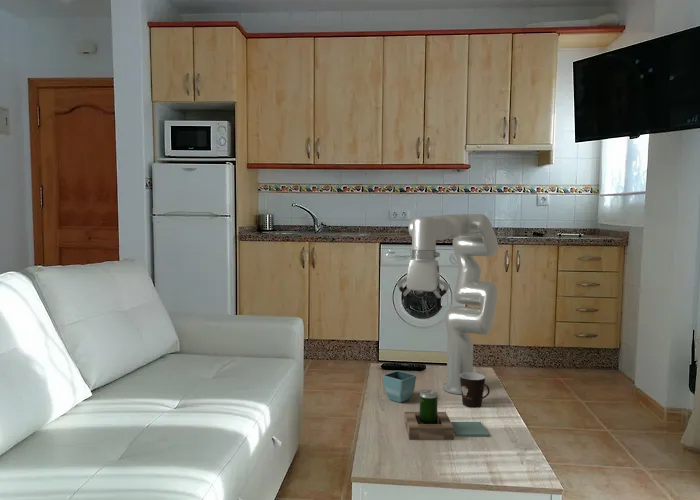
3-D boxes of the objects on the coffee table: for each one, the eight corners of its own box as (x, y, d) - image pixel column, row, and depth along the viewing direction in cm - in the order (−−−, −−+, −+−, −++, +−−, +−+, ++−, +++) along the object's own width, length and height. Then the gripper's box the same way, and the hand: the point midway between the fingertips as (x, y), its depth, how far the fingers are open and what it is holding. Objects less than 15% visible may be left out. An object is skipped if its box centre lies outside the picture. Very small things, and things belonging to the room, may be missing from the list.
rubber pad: (448, 423, 167) (449, 421, 167) (480, 423, 167) (480, 421, 167) (455, 436, 157) (455, 434, 157) (489, 436, 157) (489, 434, 157)
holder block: (404, 422, 168) (404, 411, 168) (445, 422, 168) (445, 411, 168) (409, 439, 155) (409, 427, 155) (453, 439, 155) (453, 428, 155)
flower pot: (416, 399, 189) (417, 375, 189) (401, 406, 183) (401, 380, 183) (397, 394, 195) (397, 370, 195) (382, 400, 189) (382, 375, 189)
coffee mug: (456, 400, 189) (456, 372, 188) (480, 400, 190) (480, 372, 189) (466, 412, 177) (466, 382, 177) (491, 411, 178) (491, 382, 177)
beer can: (427, 435, 158) (427, 396, 157) (415, 429, 162) (416, 391, 161) (440, 432, 161) (441, 393, 160) (428, 426, 165) (429, 388, 164)
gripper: (452, 256, 170) (451, 309, 170) (401, 254, 176) (399, 305, 177) (447, 257, 163) (446, 312, 163) (394, 255, 169) (393, 308, 170)
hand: (422, 308), depth 170 cm, fingers open, 9 cm apart
